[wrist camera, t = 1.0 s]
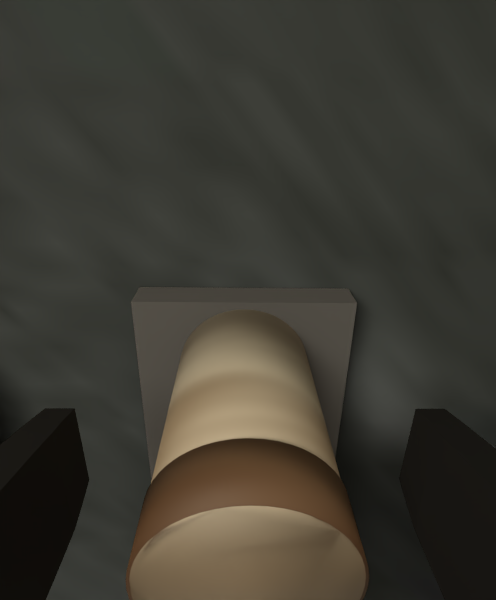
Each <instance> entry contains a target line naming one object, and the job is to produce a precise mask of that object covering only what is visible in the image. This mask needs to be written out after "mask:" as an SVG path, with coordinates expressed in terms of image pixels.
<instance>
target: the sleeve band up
mask: <svg viewBox="0 0 496 600" xmlns="http://www.w3.org/2000/svg"><path fill="white" fill-rule="evenodd" d="M368 583H369V569H368V564H367V560H366V557H365V553H364V550H363V546H362V543H361V539H360V536H359V532H358V528H357V525H356V521H355V518H354V514H353V511H352V507H351V504H350V500H349V497H348V494H347V490H346V488H345V486H344V484H343V482H342V480H341V478H340V475H339V471H338V467H337V464H336V460H335V457H334V453H333V449H332V446H331V442H330V438H329V435H328V431H327V428H326V424H325V420H324V417H323V413H322V409H321V406H320V402H319V399H318V395H317V391H316V388H315V384H314V380H313V377H312V373H311V369H310V366H309V362H308V359H307V355H306V351H305V348H304V345H303V343H302V341H301V339H300V337H299V336H298V335H297V333H296V332H295V331H294V330H293V329H292V328H291V327H290V326H289V325H288V324H287V323H286V322H284V321H283V320H281V319H279V318H278V317H275V316H273V315H271V314H268V313H265V312H262V311H256V310H246V309H243V310H232V311H227V312H223V313H220V314H217V315H215V316H213V317H211V318H209V319H207V320H206V321H204V322H203V323H202V324H200V325H199V326H198V327H197V328H196V329H195V330H194V331H193V332H192V333H191V335H190V336H189V337H188V339H187V341H186V343H185V345H184V348H183V350H182V354H181V358H180V363H179V367H178V371H177V375H176V380H175V384H174V388H173V392H172V396H171V401H170V405H169V409H168V413H167V418H166V422H165V426H164V430H163V435H162V439H161V443H160V447H159V451H158V456H157V460H156V464H155V468H154V473H153V477H152V481H151V484H150V486H149V488H148V490H147V493H146V496H145V498H144V502H143V506H142V510H141V514H140V519H139V523H138V527H137V531H136V535H135V539H134V543H133V547H132V551H131V555H130V560H129V564H128V568H127V574H126V589H127V593H128V596H129V599H130V600H363V598H364V597H365V594H366V591H367V588H368Z"/></svg>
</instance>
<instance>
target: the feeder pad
mask: <svg viewBox="0 0 496 600" xmlns="http://www.w3.org/2000/svg"><path fill="white" fill-rule="evenodd" d="M131 306H132V315H133V323H134V332H135V341H136V350H137V358H138V367H139V376H140V384H141V393H142V402H143V411H144V419H145V428H146V437H147V446H148V454H149V463H150V472H151V481H152V477H153V473H154V468H155V464H156V460H157V456H158V451H159V447H160V443H161V439H162V435H163V430H164V426H165V422H166V418H167V413H168V409H169V405H170V401H171V396H172V392H173V388H174V384H175V380H176V375H177V371H178V367H179V363H180V358H181V354H182V350H183V348H184V345H185V343H186V341H187V339H188V337H189V336H190V335H191V333H192V332H193V331H194V330H195V329H196V328H197V327H198V326H199V325H200V324H202V323H203V322H204V321H206V320H207V319H209V318H211V317H213V316H215V315H217V314H220V313H223V312H227V311H232V310H243V309H246V310H256V311H262V312H265V313H268V314H271V315H273V316H275V317H278V318H279V319H281V320H283V321H284V322H286V323H287V324H288V325H289V326H290V327H291V328H292V329H293V330H294V331H295V332H296V333H297V335H298V336H299V337H300V339H301V341H302V343H303V345H304V348H305V351H306V355H307V359H308V362H309V366H310V369H311V373H312V377H313V380H314V384H315V388H316V391H317V395H318V399H319V402H320V406H321V409H322V413H323V417H324V420H325V424H326V428H327V431H328V435H329V438H330V442H331V446H332V449H333V453H334V457H336V450H337V443H338V436H339V428H340V421H341V414H342V407H343V400H344V393H345V386H346V379H347V372H348V364H349V357H350V350H351V343H352V336H353V329H354V322H355V315H356V307H357V302H356V301H355V299H354V297H353V296H352V294H351V293H350V291H349V289H336V288H196V287H139V289H138V291H137V292H136V294H135V296H134V298H133V299H132V301H131Z"/></svg>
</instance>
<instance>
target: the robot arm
mask: <svg viewBox="0 0 496 600" xmlns="http://www.w3.org/2000/svg"><path fill="white" fill-rule="evenodd" d="M399 479H400V483H401V486H402V490H403V493H404V497H405V500H406V504H407V507H408V510H409V513H410V517H411V520H412V523H413V526H414V529H415V531H416V534H417V536H418V538H419V541H420V543H421V545H422V548H423V550H424V553H425V555H426V557H427V560H428V562H429V564H430V567H431V569H432V571H433V573H434V576H435V578H436V580H437V583H438V585H439V587H440V590H441V592H442V594H443V596H444V599H445V600H496V449H495V448H494V447H493V446H491V445H490V444H489V443H488V442H486V441H485V440H484V439H483V438H481V437H480V436H479V435H478V434H476V433H475V432H474V431H473V430H471V429H470V428H469V427H467V426H466V425H465V424H464V423H462V422H461V421H460V420H459V419H457V418H456V417H455V416H453V415H452V414H451V413H449V412H448V411H447V410H445V409H416V410H415V415H414V419H413V423H412V427H411V431H410V436H409V440H408V444H407V448H406V452H405V457H404V461H403V465H402V469H401V473H400V478H399ZM88 482H89V477H88V472H87V467H86V462H85V457H84V452H83V447H82V443H81V438H80V433H79V428H78V423H77V418H76V413H75V409H44V410H43V411H41V412H40V413H39V414H37V415H36V416H35V417H34V418H32V419H31V420H30V421H29V422H27V423H26V424H25V425H24V426H23V427H21V428H20V429H19V430H18V431H16V432H15V433H14V434H13V435H12V436H10V437H9V438H8V439H7V440H6V441H4V442H3V443H2V444H1V445H0V600H46V598H47V595H48V593H49V590H50V588H51V586H52V583H53V581H54V579H55V576H56V574H57V571H58V569H59V567H60V564H61V562H62V559H63V557H64V554H65V552H66V550H67V547H68V545H69V542H70V540H71V537H72V535H73V532H74V530H75V527H76V523H77V520H78V517H79V514H80V510H81V507H82V503H83V500H84V496H85V493H86V489H87V485H88Z"/></svg>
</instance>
